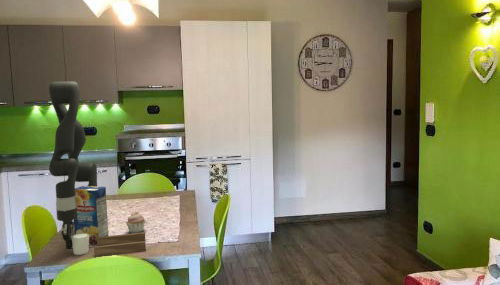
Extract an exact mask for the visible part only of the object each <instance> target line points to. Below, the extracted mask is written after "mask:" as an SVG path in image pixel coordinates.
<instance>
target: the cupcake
mask: <svg viewBox="0 0 500 285" xmlns="http://www.w3.org/2000/svg"><path fill="white" fill-rule="evenodd" d="M146 223H147V220H145V217H144V216H143V215H142V214H141V213H140V212H138V211H137V210H135V211H134V212H133V211H132V213H131V214H130V215H129V216H128V218H127V221H125V224H126V226H127V229H128V231H129V232H128V233H129V234H133V233H143V231H144V227H145V224H146Z"/></svg>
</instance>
